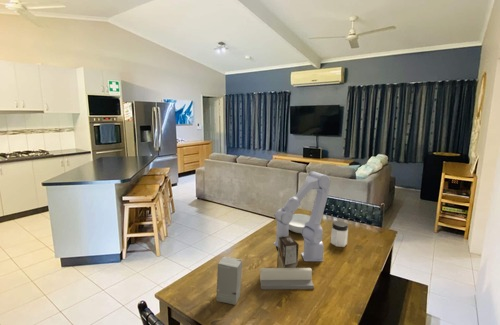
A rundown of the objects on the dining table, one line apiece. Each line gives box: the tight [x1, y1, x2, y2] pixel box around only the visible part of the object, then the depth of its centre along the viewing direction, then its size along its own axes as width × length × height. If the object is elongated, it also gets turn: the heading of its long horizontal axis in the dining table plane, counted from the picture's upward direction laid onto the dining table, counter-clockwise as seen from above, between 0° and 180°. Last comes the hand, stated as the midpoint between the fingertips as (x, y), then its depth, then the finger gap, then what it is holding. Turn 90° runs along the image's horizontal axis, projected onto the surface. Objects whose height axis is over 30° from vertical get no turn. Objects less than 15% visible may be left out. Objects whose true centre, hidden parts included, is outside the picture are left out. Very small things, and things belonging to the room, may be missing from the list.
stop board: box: [259, 267, 315, 290], centre depth 114 cm, size 22×6×6 cm, turn 92°
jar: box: [330, 220, 349, 248], centre depth 151 cm, size 9×8×12 cm
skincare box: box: [215, 255, 243, 306], centre depth 105 cm, size 8×7×16 cm
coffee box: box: [276, 235, 300, 268], centre depth 122 cm, size 9×6×16 cm
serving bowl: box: [289, 213, 311, 234], centre depth 169 cm, size 21×21×7 cm
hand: (281, 260), depth 129 cm, fingers closed
